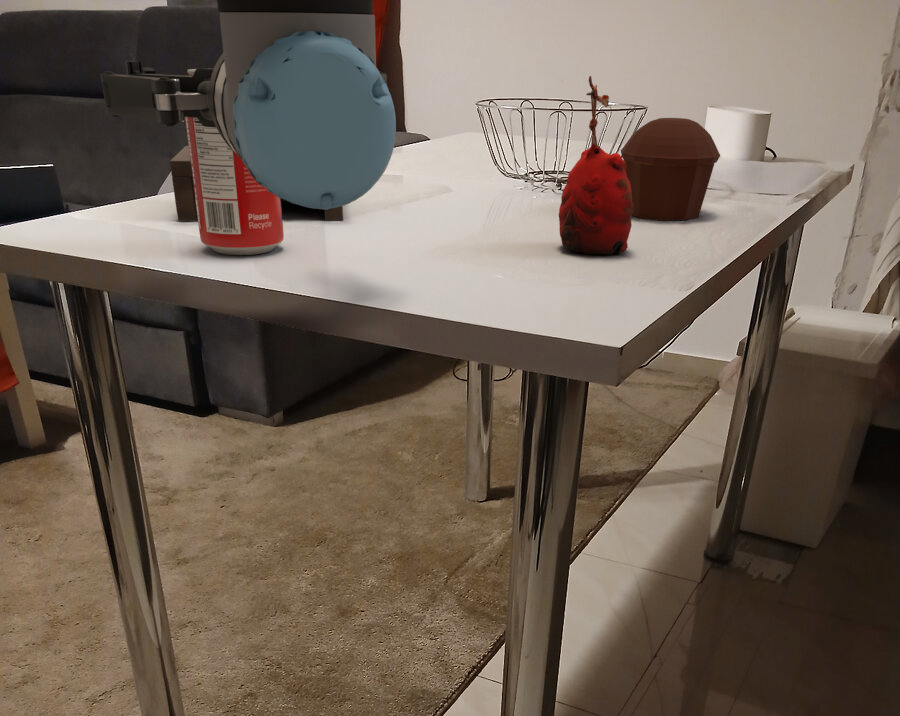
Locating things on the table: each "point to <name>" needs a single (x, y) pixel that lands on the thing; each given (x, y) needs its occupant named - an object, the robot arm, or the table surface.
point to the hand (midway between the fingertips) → (239, 87)
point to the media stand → (187, 195)
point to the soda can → (230, 197)
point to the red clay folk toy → (596, 198)
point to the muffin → (669, 168)
